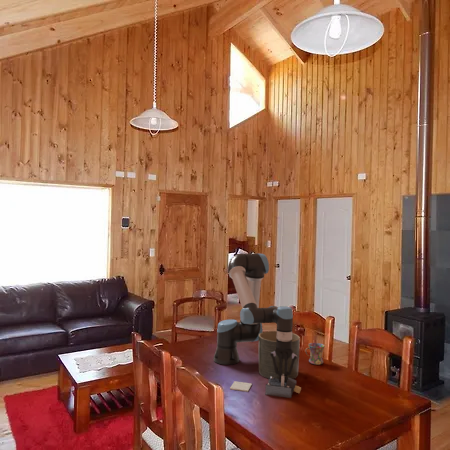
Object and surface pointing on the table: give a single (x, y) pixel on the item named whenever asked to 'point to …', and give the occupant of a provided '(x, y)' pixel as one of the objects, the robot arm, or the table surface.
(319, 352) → the mug
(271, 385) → the shaft channel
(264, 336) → the planter
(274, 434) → the table surface
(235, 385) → the coaster
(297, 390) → the plug
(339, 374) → the table surface
